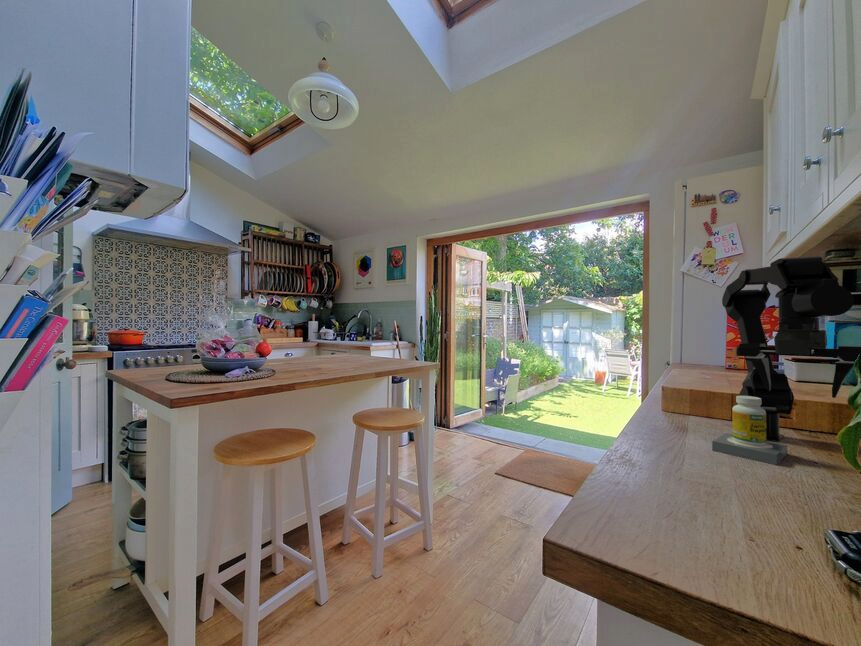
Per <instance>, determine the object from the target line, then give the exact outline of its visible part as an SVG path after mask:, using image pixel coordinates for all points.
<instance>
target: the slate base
mask: <svg viewBox="0 0 861 646" xmlns="http://www.w3.org/2000/svg"><path fill="white" fill-rule="evenodd" d="M711 447H712V449H711V450H712V451H714V452H719V453H723V454H727V455H732V456H735V457H739V458H744V459H748V460H752V461H756V462H757V461H758V462H762V463H765V464H771V465H773V466H774V465H775V466H778V464H780V462H781V461H782V460H783V459H784V458H786V456H787V455H788V444H786V443H780V442H776V441H771V440H766V445H764V446H753V445H747V444H743V443H739V442H736V441H735V440H734V439H733V433H727V432H726V433H724V434H722V435H721V436H718V437H717V438H714V439H713V440H712V441H711Z"/></svg>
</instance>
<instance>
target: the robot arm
mask: <svg viewBox="0 0 861 646" xmlns="http://www.w3.org/2000/svg"><path fill="white" fill-rule="evenodd" d="M769 265H770V266H763V267H759V268H749V269H748V268H747V269H743V270H740V273H739V275H738V277H737V278H736V279H735V280H733V281H732V282H731V283H730V284H728V285H727V286H726V287H725V290H724V292H723V295H722V300H721V304H722V307H724V310H725V313H726V315H727V316H728V317H729V318H730V319H732V320H733V321H735V323H736V325H737V329H738V332H739V333H738V334H739V337H740V343H739V344H737V345H736V348H735V350H736V352H735V353H736V357H744V361H745V364H746V369H747V374H746V377H745V378H744V379H743V381H742V383H741V384H742V388H741V390H740V391H739V393H738V395H737V396H752V397H758V398H761V400H762V404H761V405H760V407H761V408H763V409H764V410H765V411H766V441H771V442H781V440H783V439H784V438H785V435H784V434H780V414H782V415H791V413H792V411H793V410H792V409H793V404H794V401H795V395H794V392H793V391H792V388H791V386H790V383H789V380H788V379H789V378H788V376H787V375H786V373H782V372H781V373H780V372H778V371H777V370H776V369H775V368H774V365H773V360H772V356H790V357H792V356H793V357H809V358H810V357H812V358H831V359H832V358H836V359H837V360H839V361H837V362H835V368H834V375H833V381H832V387H831V396H832V397H831V398H833V399H836V398H837V395H838V393H839V392H840V390H841V388H842V385H843V384H844V382H845V379H846V377H847V376H848V374H849V373H850V372H851V371H852V369H853V368H854V366H853V365H854V362H855V360H856V359H857V357H858V355H859V354H861V345H838V346H837V348H828V347H827V346H828V335H827V330H826V329H820V317H823V318H824V317H835V316H836V317H837V316H840V315H841V316H842V315H843V314H845V313H847V312H848V311H850V309H852V307H853V305H854V302H855V296H853V294H852V292H851V291H850V290H849V289H848V288H847V287H845V286H842V285H840V283H839V278H838V276H836V275H835V273H834V272H833V271H832V269H831V267H830V266H829V265H828V263H827V262H826V261H823V257H822V256H818V255H817V256H802V257H801V256H800V257H799V256H798V257H785V258H783V257H782V258H781V257H780V258H778V259H776V260H774V261H772V262H770V264H769ZM768 284H770V285H774V286H777V287H778V288H779V289H780V290H779V291H777V292H776V294H775V298H776V299H778V330H777V332H776V334H775V336H774V338H773V339H774V340H773V341H774V346H768V342H767V338H766V333H765V330H764V326H763V322H762V318H761V317H762V314H763V313H764V311H765V310H766V307H767V305H766V304H767V302H768V300H769V299H770V296H771V292H770V290H769V288H768ZM756 285H757V286H758V285H763V286H762V288H761V289H744V288H745V287H746V286H756ZM736 405H738V403H737V402H736Z"/></svg>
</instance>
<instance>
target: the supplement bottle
mask: <svg viewBox="0 0 861 646" xmlns="http://www.w3.org/2000/svg"><path fill="white" fill-rule="evenodd" d="M735 401H736V405H734V406H732V414H731V415H732V434H733V439H734V440H735V441H736V442H739V443H743V444H747V445H753V446H764V445H766V441H767V439H766V411H765V410H764V409H763V408H761V407H762V406H760V405H761V404H762V400H761V398H758V397H752V396H738V395H736V397H735ZM737 403H738V405H737Z"/></svg>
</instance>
